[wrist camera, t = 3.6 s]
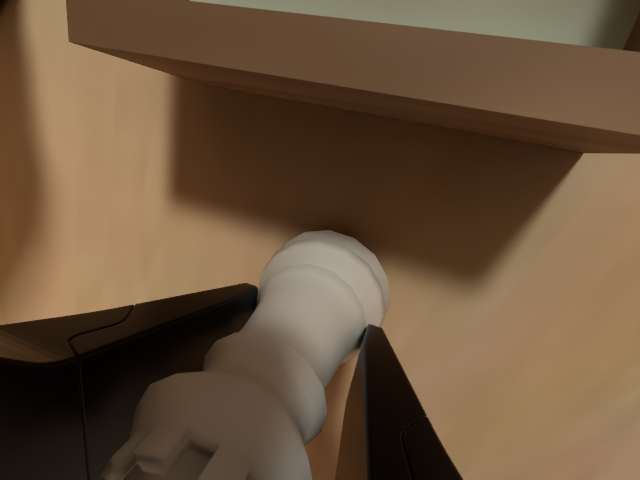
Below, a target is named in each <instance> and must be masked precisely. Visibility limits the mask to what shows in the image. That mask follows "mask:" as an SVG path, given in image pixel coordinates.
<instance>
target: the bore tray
mask: <svg viewBox="0 0 640 480" xmlns="http://www.w3.org/2000/svg"><path fill="white" fill-rule="evenodd" d="M66 6H67V20H68V35H69V42H71V43H74V44H78V45H81V46H84V47H87V48H90V49H93V50H96V51H100V52H103V53H106V54H109V55H112V56H115V57H118V58H122V59H125V60H128V61H131V62H134V63H137V64H140V65H144V66H147V67H150V68H153V69H156V70H159V71H162V72H166V73H169V74H172V75H175V76H178V77H181V78H184V79H188V80H191V81H194V82H197V83H200V84H204V85H210V86H216V87H221V88H227V89H232V90H238V91H243V92H249V93H254V94H260V95H266V96H271V97H277V98H282V99H288V100H293V101H299V102H304V103H310V104H315V105H321V106H327V107H332V108H338V109H343V110H349V111H354V112H360V113H365V114H371V115H377V116H382V117H388V118H393V119H399V120H404V121H410V122H415V123H421V124H426V125H432V126H438V127H443V128H449V129H454V130H460V131H465V132H471V133H476V134H482V135H487V136H493V137H499V138H504V139H510V140H515V141H521V142H526V143H532V144H537V145H543V146H549V147H554V148H560V149H565V150H571V151H576V152H582V153H637V154H640V0H66Z"/></svg>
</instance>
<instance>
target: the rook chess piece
mask: <svg viewBox="0 0 640 480" xmlns="http://www.w3.org/2000/svg"><path fill="white" fill-rule="evenodd" d="M257 298H258V299H257V304H256V309H255V311H254V312H253V314H252V315H251V317H250V318H249V320H248V321H247V323H246V324H245V326H244V327H243V328H242V329H241V330H240V331H239V332H238V333H233V334H231V335H229V336H226V337H224V338H222V339H220V340H217V341H216V342H215V343H214V344H213V346H212V347H211V349H210V350H209V351H208V353H207V354H206V355H205V357H204V364H203V371H202V372H189V373H177V374H174V375H171V376H169V377H167V378H164V379H162V380H159V381H157V382H155V383H152V384H150V385H149V387H148V388H147V390H146V391H145V393H144V395H143V396H142V398H141V399H140V401H139V402H138V404H137V405H136V410H135V415H134V420H133V424H132V429H131V434H130V439H129V440H128V441H127V442H126V443H125V444H124V445H123V446H122V447H121V448H120V449H119V450H118V451H117V452H116V453H115V454H114V455H113V456H112V457H111V458H110V460H109V461H108V463H107V464H106V466H105V467H104V469H103V470H102V472H101V473H100V476H101V477H103V478H104V479H105V480H313V479H312V474H311V469H310V464H309V460H308V456H307V453H306V450H305V447H304V445H306V444H307V443H309V442H310V441H311V440H312V439H313V438H314V437H316V436H317V435H318V434H319V433H320V432H321V430H322V427H323V424H324V421H325V418H326V415H327V412H328V411H327V405H326V399H325V390H326V388H327V386H328V385H329V383H330V381H331V380H332V378H333V376H334V375H335V373H336V371H337V370H338V368H339V366H340V365H341V364H343V363H346V362H347V361H348V360H349V359H350V358H352V357H355V356H358V355H359V353H360V349H361V346H362V342H363V339H364V335H365V332H366V328H367V325H368V324H372V325H375V326H378V327H381V325H382V322H383V319H384V316H385V313H386V311H387V308H388V305H389V302H390V298H389V288H388V278H387V276H386V274H385V272H384V270H383V268H382V267H381V265H380V263H379V261H378V260H377V258H376V256H375V254H373V253H372V252H371V251H370V250H368V249H367V248H366V247H365V246H363V245H362V244H361V243H360V242H358V241H357V240H356V239H355V238H353V237H350V236H346V235H343V234H340V233H337V232H334V231H331V230H323V231H311V232H304V233H302V234H300V235H299V236H297V237H295V238H293V239H291V240H290V241H288V242H286V243H285V244H284V245H283V247H282V248H281V250H279V251H277V252H276V253H275V254H274V256H273V257H272V259H271V260H270V261H269V263H268V264H267V266H266V267H265V268H264V270H263V272H262V274H261V278H260V284H259V289H258V297H257Z"/></svg>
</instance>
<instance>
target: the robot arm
mask: <svg viewBox="0 0 640 480" xmlns="http://www.w3.org/2000/svg"><path fill="white" fill-rule="evenodd" d="M0 2H1V0H0ZM257 297H258V288H257V287H256V286H254V285H251V284H248V283H243V284H238V285H232V286H227V287H222V288H217V289H212V290H207V291H201V292H196V293H191V294H186V295H181V296H176V297H170V298H165V299H160V300H155V301H150V302H145V303H140V304H136V305H135V306H134V305H129V306H124V307H119V308H113V309H107V310H102V311H96V312H90V313H83V314H77V315H70V316H63V317H56V318H49V319H42V320H34V321H27V322H20V323H13V324H6V325H0V480H105V479H104V478H103V477H101V476H100V473H101V472H102V470H103V469H104V467H105V466H106V464H107V463H108V461H109V460H110V458H111V457H112V456H113V455H114V454H115V453H116V452H117V451H118V450H119V449H120V448H121V447H122V446H123V445H124V444H125V443H126V442H127V441H128V440H129V439H130V434H131V429H132V424H133V420H134V415H135V410H136V405H137V404H138V402H139V401H140V399H141V398H142V396H143V395H144V393H145V391H146V390H147V388H148V387H149V385H150V384H152V383H155V382H157V381H159V380H162V379H164V378H167V377H169V376H171V375H174V374H177V373H189V372H202V371H203V364H204V357H205V355H206V354H207V353H208V351H209V350H210V349H211V347H212V346H213V344H214V343H215V342H216V341H217V340H220V339H222V338H224V337H226V336H229V335H231V334H233V333H238V332H239V331H240V330H241V329H242V328H243V327H244V326H245V324H246V323H247V321H248V320H249V318H250V317H251V315H252V314H253V312H254V311H255V309H256V304H257ZM335 480H463V478H462V477H461V475H460V474H459V472H458V470H457V469H456V467H455V465H454V464H453V462H452V460H451V459H450V457H449V456H448V454H447V452H446V450H445V449H444V447H443V445H442V443H441V441H440V439H439V438H438V436H437V434H436V432H435V430H434V428H433V426H432V424H431V422H430V421H429V419H428V417H426V413H425V411H424V409H423V407H422V405H421V403H420V401H419V399H418V397H417V395H416V393H415V391H414V390H413V388H412V386H411V384H410V382H409V380H408V378H407V376H406V374H405V372H404V370H403V368H402V366H401V364H400V362H399V360H398V358H397V356H396V354H395V352H394V350H393V348H392V346H391V345H390V343H389V341H388V339H387V337H386V335H385V333H384V331H383V329H382V328H381V327H378V326H375V325H372V324H368V325H367V328H366V332H365V335H364V339H363V342H362V346H361V349H360V353H359V356H358V360H357V364H356V367H355V371H354V375H353V378H352V382H351V386H350V389H349V393H348V397H347V401H346V407H345V413H344V420H343V427H342V434H341V442H340V449H339V456H338V463H337V470H336V477H335Z"/></svg>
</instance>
